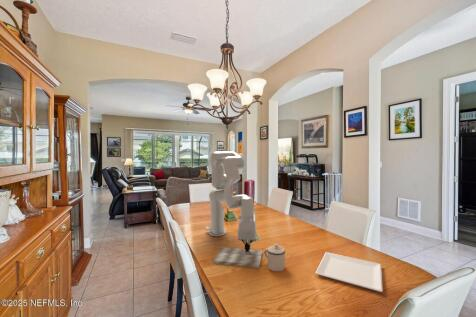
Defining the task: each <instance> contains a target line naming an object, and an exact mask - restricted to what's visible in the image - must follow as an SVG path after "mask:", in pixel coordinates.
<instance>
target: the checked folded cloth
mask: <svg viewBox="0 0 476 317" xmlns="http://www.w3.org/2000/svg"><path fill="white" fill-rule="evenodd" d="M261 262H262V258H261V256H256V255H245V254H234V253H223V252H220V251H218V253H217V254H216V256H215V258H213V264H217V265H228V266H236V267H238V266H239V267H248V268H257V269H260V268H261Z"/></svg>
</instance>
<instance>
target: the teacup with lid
mask: <svg viewBox="0 0 476 317" xmlns="http://www.w3.org/2000/svg"><path fill="white" fill-rule="evenodd" d="M263 251H264V257H265V258H266V259H267V269H268V270H270V271H273V272H282V271H284V270H285V267H286V250H285V248H284V247H283V246H281V245H279V244H278V243H274V245H270V246H268V247H267V248H266V249H265V250H263Z"/></svg>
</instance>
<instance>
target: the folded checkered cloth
mask: <svg viewBox="0 0 476 317" xmlns="http://www.w3.org/2000/svg"><path fill="white" fill-rule="evenodd" d="M219 252H223V253H234V254H245V255H256V256H261V259H262V257H263V250H259V249H250V250H249V251H246V249H245V248H237V247H236V248H235V247H234V248H233V247H223V246H222V247H221V248H220V250H219Z"/></svg>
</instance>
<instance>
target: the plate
mask: <svg viewBox="0 0 476 317" xmlns="http://www.w3.org/2000/svg"><path fill="white" fill-rule="evenodd" d="M315 274H316V275H319V276H322V277H326V278H330V279H333V280H336V281H340V282H342V283H347V284H350V285H354V286H357V287H361V288H365V289H370V290H373V291H375V292H379V293H382V292H383V275H382V264H381V263H379V262H373V261H369V260H366V259H365V260H364V259H360V258H355V257H352V256H351V257H350V256H346V255H341V254H338V253H333V252H328V251H325V253H324V255H323V256H322V259H321V261H320V263H319V265H318V267H317V268H316V271H315Z"/></svg>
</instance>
